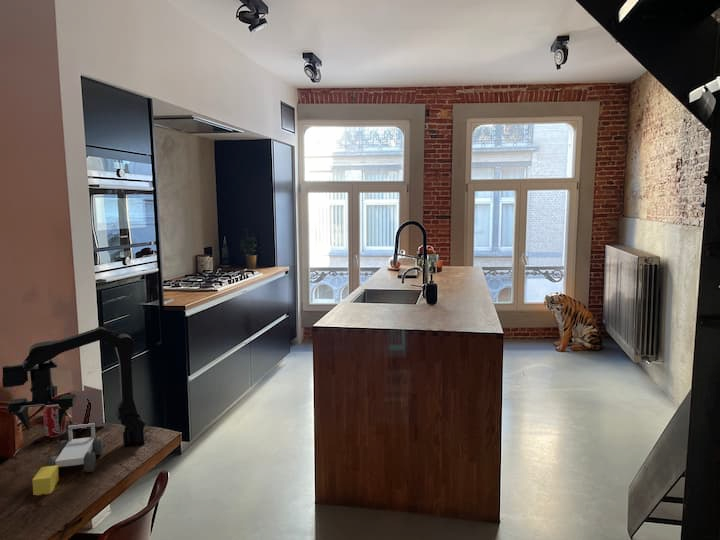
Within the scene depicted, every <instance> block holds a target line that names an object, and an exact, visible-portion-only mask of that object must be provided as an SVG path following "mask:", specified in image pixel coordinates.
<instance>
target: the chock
mask: <svg viewBox="0 0 720 540" xmlns="http://www.w3.org/2000/svg"><path fill="white" fill-rule="evenodd" d="M59 473H60V472H59ZM59 473H58V465H55V466H47V465H46V466H41V467H40V469H39V470H38V471H37V473H36V474H35V475H34V477H33V478H32V480H31V481H32V482H31V483H32V494H33V495H36V496H43V495H42V494H44V495H49V494H50V495H51V494H52V492H53V491H54V489H55V488H56V486H57V484H58V483H57V482H59V480H60V476H59ZM55 485H56V486H55Z"/></svg>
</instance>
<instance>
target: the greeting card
mask: <svg viewBox="0 0 720 540" xmlns="http://www.w3.org/2000/svg"><path fill="white" fill-rule="evenodd" d="M82 387H83V390H70V394H75V395H76V396H77V402H76V403H75V404H74V406H73V407H71V418H72V419H71V421H72V424H73V423H74V422H75V423H80V424H82V422H83V421H84V417H85V413H86V409H87V405H88V402H89V401H90V403H91V411H90V417H89V423H95V426H104V427H105V422H104V408H103V407H104V405H103V403H104V402H103V390H102V389H101V388H95V387H92V386H87V385H83V386H82ZM87 399H89V401H87ZM102 423H103V424H102Z"/></svg>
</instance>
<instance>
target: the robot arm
mask: <svg viewBox="0 0 720 540" xmlns="http://www.w3.org/2000/svg"><path fill="white" fill-rule="evenodd" d="M100 341H101V342H104V343H106V344H107V345H110V346H112V347H114V348H115V349H114V350H115V352H116V356H117V360H118V369H119V386H120V387H119V389H120V390H119V391H120V401H119V403H115V409H116V412H115V416H116V418H117V420H118V421H120V423H121V425H122V426H123V427H124V430H123V432H122V438H123V440H122V441H123V444H124V448H132V447H139V446H144V445H145V442H146V441H147V436H146V429H145V427H146V426H145V425H146V422H145V420H144V419H143V417H142V415H141V414H140V413H138V410H137V407H136V404H135V401H134V391H133V390H134V389H133V387H134V386H133V370H132V368H133V367H132V359H133V356H134V352H135V342H134V341H135V340H133V338H132V337H131V336H130V335H128V334H127V333H121V334H120V333H118V332H115V331H112V330H110V329H107V328H105V327H104V326H98V327H95V328H93V329H91V330H88V331H87V330H86V331H84V332H81V333H78V334H75V335H72V336H69V337H66V338H62V339H58V340H48V341H42V342H36V343H34V344H32V345H31V346H30V347H29V350H28V354H27V356H26V358H25V359H24V360H23V361H22V364H14V365H4V366H2V379H1V380H2V381H1V383H2V388H3V389H8V388H13V387H14V388H15V387H21V386H25V384H26V383H27V382H29V377H30V389H29V390H30V391H29V392H30V393H31V399H32V400H28V399H27V398H26V397H23V398H22V397H21V398H14V399H12V401H10V402H9V403H8V405H7V407H6V410H7V413H8V414H12V416H16V417H17V419H19V420H20V422H21V423H22V424H23V426H24V428H25V429H26V430H27V431H30V430H31V424H30V422H31V421H30V415H29V408H34V407H45V406H47V405H57V404H59V406H60V408H59V409H58V420H59V427H61V426H62V422H63V419H64V416H65V415H66V413H67V411H68V410H69V409H70V408H72V407H73V406H74V404H75V403H76V402H77V396H76V395H75V394H71V393H70V394H68V393H67V394H62V396H61V397H60V398H59V397H58V398H55V397H56V396H58V385H54V382H53V381H52V369H54V368H57V367H58V364H57V362H55V361H54V360H53V359H54V358H56V357H57V356H59V355H61V354H62V353H65V352H69V351H71V350H74V349H78V348H80V347H84V346H87V345H89V344H92V343H95V342H96V343H97V342H100ZM28 374H29V375H30V376H29V375H28ZM48 402H49V403H48Z"/></svg>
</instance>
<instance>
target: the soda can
mask: <svg viewBox="0 0 720 540" xmlns="http://www.w3.org/2000/svg"><path fill="white" fill-rule="evenodd" d="M48 403H49V402H48ZM59 408H60V406H59V404H57V405H47V406H43V410H42V414H43V416H42V417H43V429H44V430H43V431H44V435H45V436H47V437H48V436H49V437H48V438H57V437H60V436H63V434H64V433H66V432H67V419H66V417H67V416H66V414H65V416H64V419H63V422H62V426H61V427H59V420H58V409H59Z"/></svg>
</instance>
